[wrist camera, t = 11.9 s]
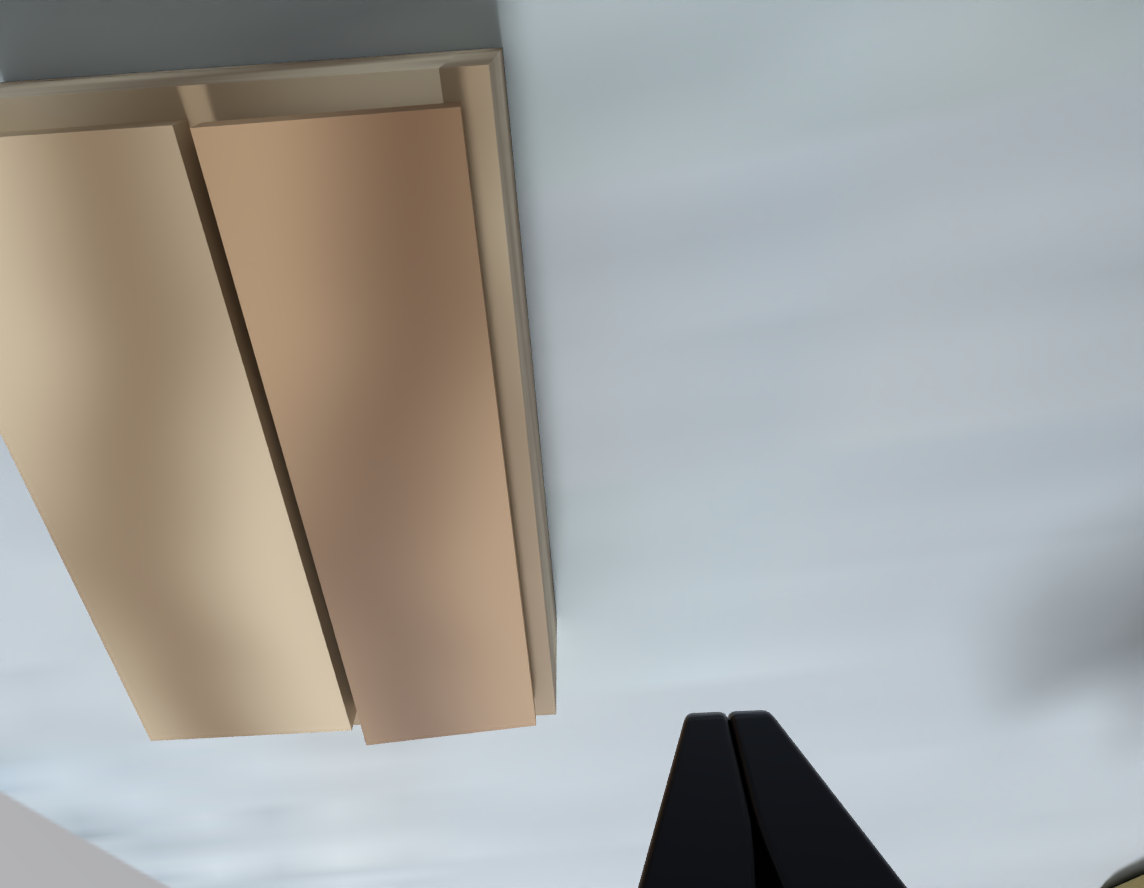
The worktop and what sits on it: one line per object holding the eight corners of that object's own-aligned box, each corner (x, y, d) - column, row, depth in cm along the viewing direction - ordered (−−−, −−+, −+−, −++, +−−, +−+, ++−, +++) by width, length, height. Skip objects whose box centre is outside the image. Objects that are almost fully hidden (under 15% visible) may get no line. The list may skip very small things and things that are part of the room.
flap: (461, 101, 13) (460, 106, 12) (534, 705, 20) (536, 725, 19) (202, 121, 13) (190, 127, 12) (369, 725, 20) (366, 745, 19)
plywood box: (502, 47, 16) (486, 68, 12) (556, 618, 23) (555, 733, 20) (3, 81, 16) (-157, 112, 12) (218, 637, 24) (157, 754, 20)
